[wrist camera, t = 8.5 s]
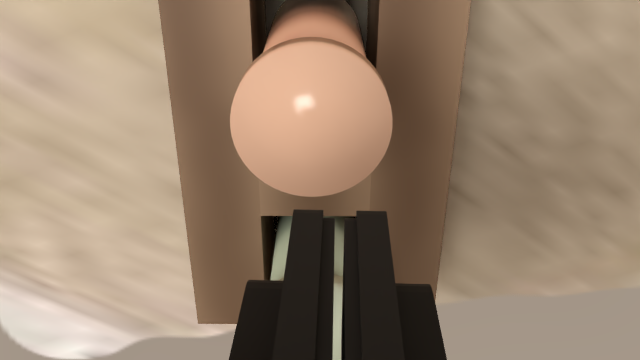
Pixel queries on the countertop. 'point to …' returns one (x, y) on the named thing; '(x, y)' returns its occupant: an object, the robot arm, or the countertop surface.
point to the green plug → (280, 263)
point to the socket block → (265, 201)
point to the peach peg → (312, 103)
